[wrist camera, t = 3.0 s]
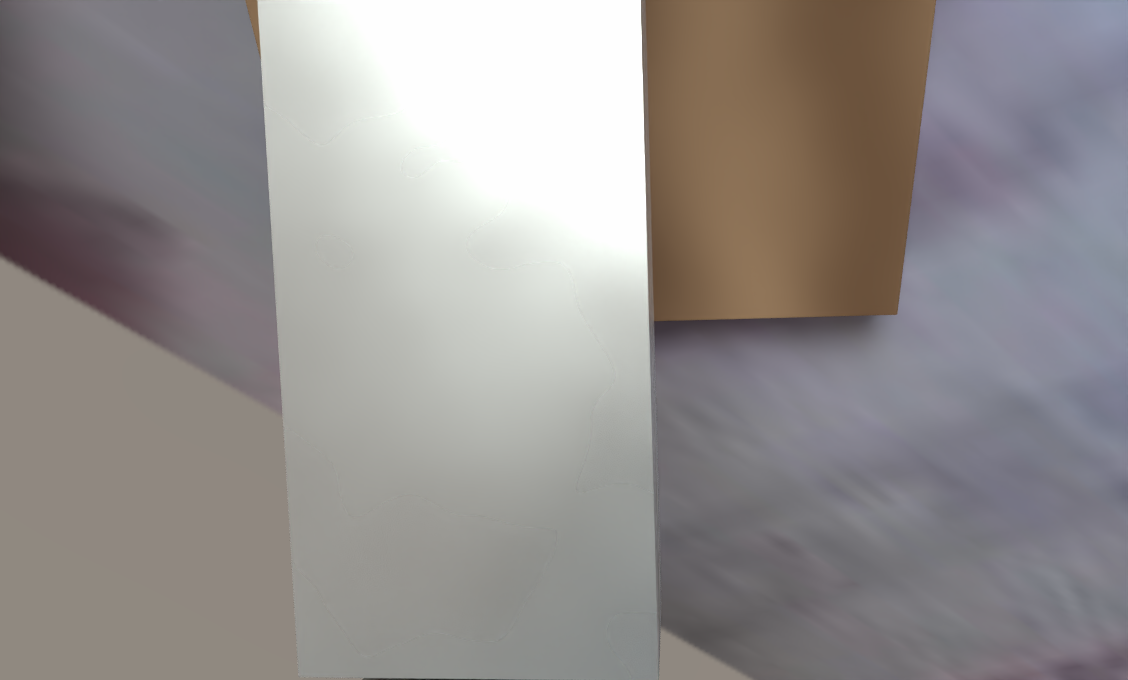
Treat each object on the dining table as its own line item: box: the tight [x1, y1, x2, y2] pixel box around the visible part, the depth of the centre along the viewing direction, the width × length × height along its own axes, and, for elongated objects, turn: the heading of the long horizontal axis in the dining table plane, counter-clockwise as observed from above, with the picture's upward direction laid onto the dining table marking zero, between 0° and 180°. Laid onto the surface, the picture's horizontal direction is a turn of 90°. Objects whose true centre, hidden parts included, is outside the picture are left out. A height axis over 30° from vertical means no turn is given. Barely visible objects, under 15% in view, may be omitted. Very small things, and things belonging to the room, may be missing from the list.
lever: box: [257, 0, 661, 680], centre depth 9 cm, size 4×17×4 cm, turn 5°
